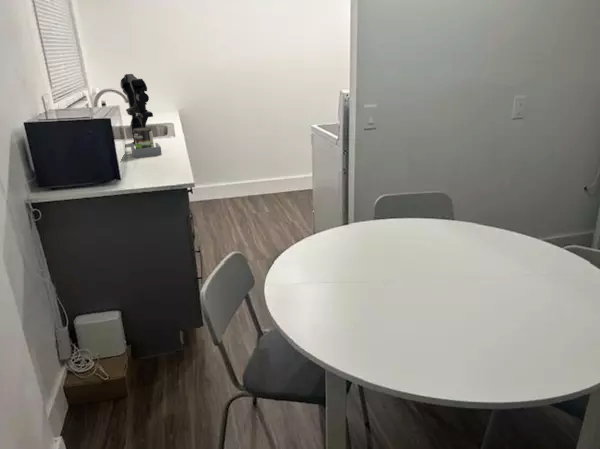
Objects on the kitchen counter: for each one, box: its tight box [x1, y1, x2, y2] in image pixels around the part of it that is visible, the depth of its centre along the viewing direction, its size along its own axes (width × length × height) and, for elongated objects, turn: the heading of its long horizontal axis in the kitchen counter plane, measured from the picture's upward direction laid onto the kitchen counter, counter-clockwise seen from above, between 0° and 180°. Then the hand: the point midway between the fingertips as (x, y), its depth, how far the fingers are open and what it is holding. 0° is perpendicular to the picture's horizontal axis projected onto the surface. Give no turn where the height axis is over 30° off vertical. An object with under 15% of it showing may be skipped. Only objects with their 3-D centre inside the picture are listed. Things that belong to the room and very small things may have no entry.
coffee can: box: [133, 126, 155, 149], centre depth 266 cm, size 10×10×14 cm
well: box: [130, 142, 163, 158], centre depth 267 cm, size 13×15×4 cm
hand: (143, 127), depth 282 cm, fingers closed
